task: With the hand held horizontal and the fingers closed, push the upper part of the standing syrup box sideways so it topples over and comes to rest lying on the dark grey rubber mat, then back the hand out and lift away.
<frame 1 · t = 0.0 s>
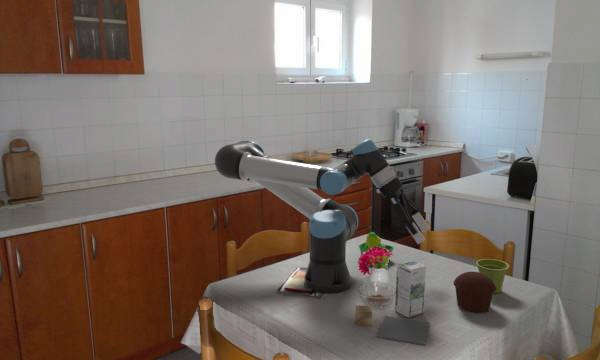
hand: (424, 235, 158), 15 cm above the table, tool tilted 35°, fingers open, 13 cm apart
oak block: (363, 322, 132), on the table
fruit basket: (375, 260, 180), on the table
muffin: (473, 307, 141), on the table
syrup box: (409, 313, 137), on the table
rubber mat: (403, 330, 127), on the table
plant pot: (490, 290, 152), on the table
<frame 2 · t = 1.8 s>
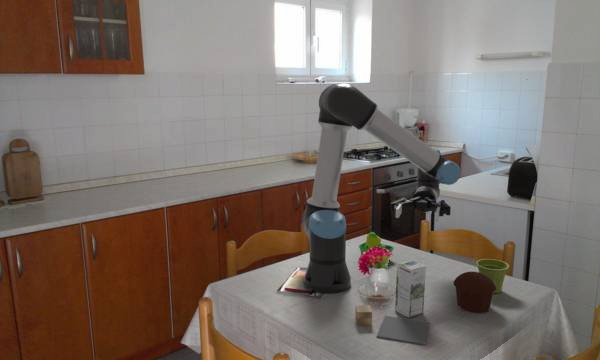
hand: (416, 215, 142), 26 cm above the table, tool horizontal, fingers open, 11 cm apart
nothing on the table moved.
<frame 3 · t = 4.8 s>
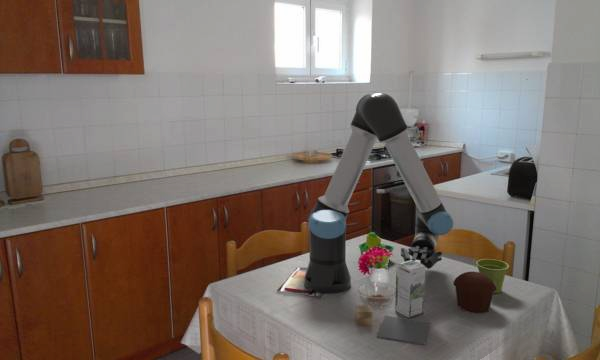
hand: (415, 271, 138), 11 cm above the table, tool horizontal, fingers closed
syrup box: (409, 312, 137), on the table, touching gripper
everything else where it was.
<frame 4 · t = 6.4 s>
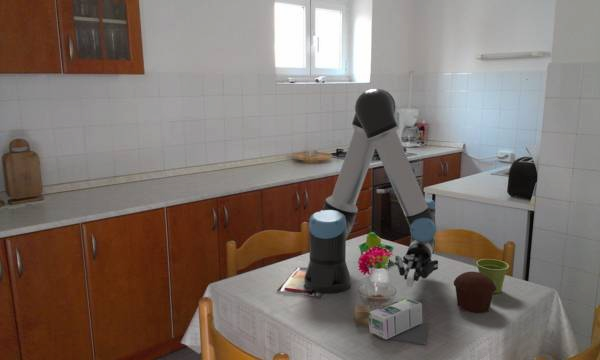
hand: (409, 282, 131), 11 cm above the table, tool horizontal, fingers closed
syrup box: (414, 310, 131), point 3 cm above the table, touching rubber mat
everything else where it was.
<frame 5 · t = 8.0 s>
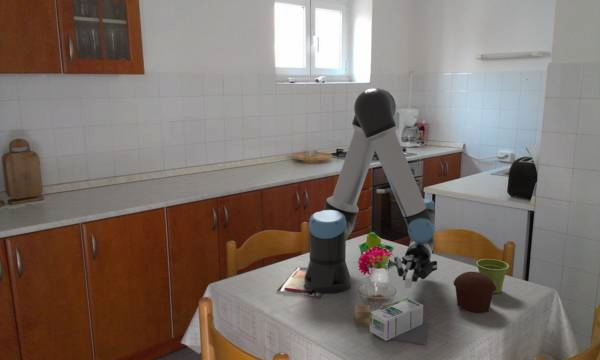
hand: (407, 283, 130), 11 cm above the table, tool horizontal, fingers closed
nothing on the table moved.
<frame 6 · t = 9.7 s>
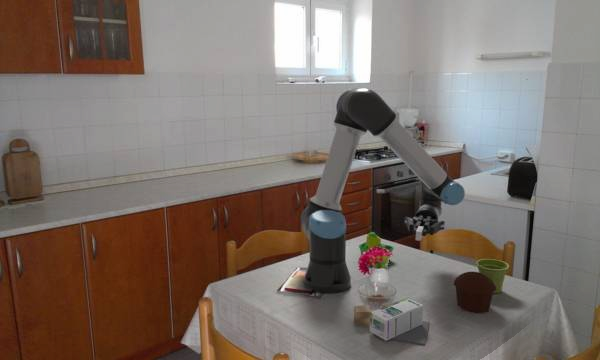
hand: (418, 236, 143), 20 cm above the table, tool horizontal, fingers closed
nothing on the table moved.
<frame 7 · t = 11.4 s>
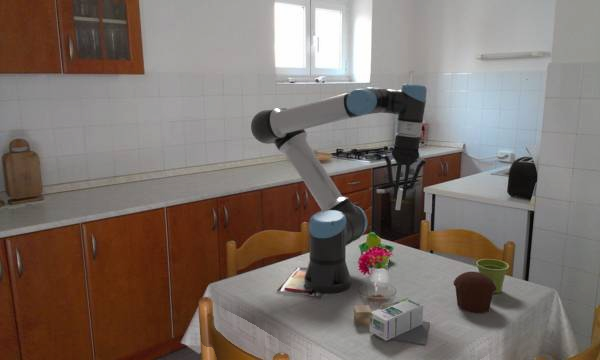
hand: (397, 208, 154), 25 cm above the table, tool pointing down, fingers closed
nothing on the table moved.
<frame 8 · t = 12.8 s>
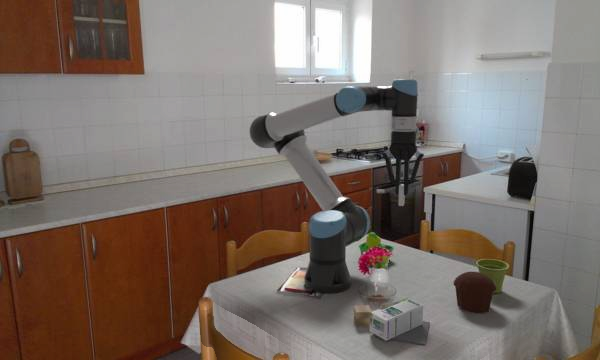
hand: (401, 204, 153), 26 cm above the table, tool pointing down, fingers closed
nothing on the table moved.
at the end: syrup box tilted 89°; syrup box inside the target area (4.3 cm from its centre), point 3.2 cm above the table; the gripper is holding nothing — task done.
